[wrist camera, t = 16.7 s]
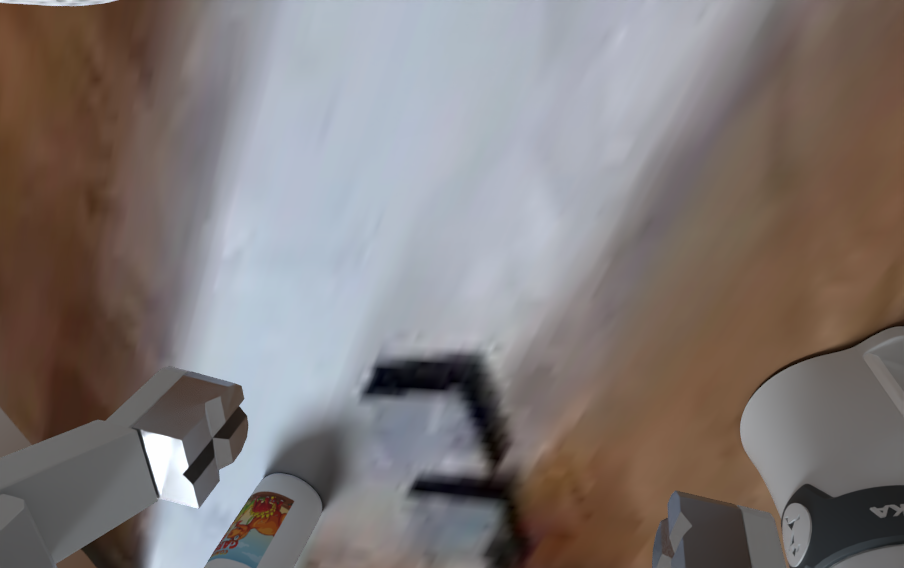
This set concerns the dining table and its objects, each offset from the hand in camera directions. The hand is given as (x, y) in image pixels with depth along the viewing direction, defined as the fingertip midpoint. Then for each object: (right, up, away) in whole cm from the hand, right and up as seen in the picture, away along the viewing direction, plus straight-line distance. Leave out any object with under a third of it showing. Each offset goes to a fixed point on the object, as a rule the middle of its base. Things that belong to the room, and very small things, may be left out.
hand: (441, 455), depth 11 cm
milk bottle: (-18, -20, +56) cm, 62 cm away
